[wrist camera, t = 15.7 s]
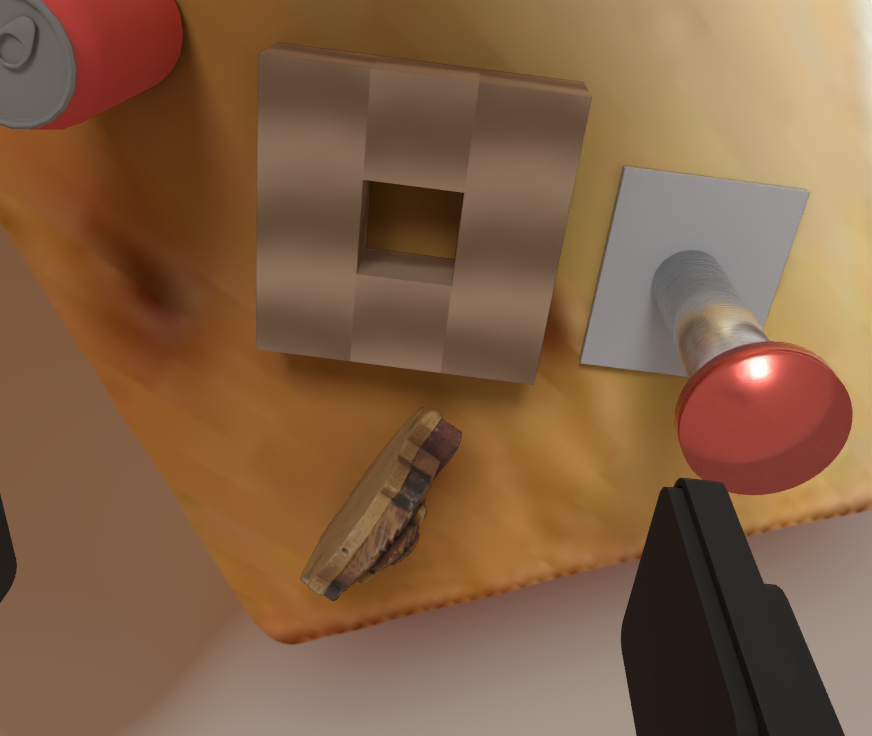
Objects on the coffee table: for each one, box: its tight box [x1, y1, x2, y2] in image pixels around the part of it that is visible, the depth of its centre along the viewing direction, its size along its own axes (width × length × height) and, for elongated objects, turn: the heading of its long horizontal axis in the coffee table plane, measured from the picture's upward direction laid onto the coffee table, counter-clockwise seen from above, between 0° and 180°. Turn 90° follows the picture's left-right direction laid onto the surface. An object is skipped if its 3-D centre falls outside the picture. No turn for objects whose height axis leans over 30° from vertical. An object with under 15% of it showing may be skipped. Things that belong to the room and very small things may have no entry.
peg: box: [652, 250, 852, 495], centre depth 40 cm, size 7×7×15 cm
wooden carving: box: [300, 407, 462, 601], centre depth 51 cm, size 16×5×10 cm, turn 152°
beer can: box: [0, 0, 183, 129], centre depth 37 cm, size 7×7×12 cm
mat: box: [580, 166, 810, 377], centre depth 47 cm, size 12×10×1 cm
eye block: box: [256, 43, 592, 385], centre depth 45 cm, size 16×16×4 cm
